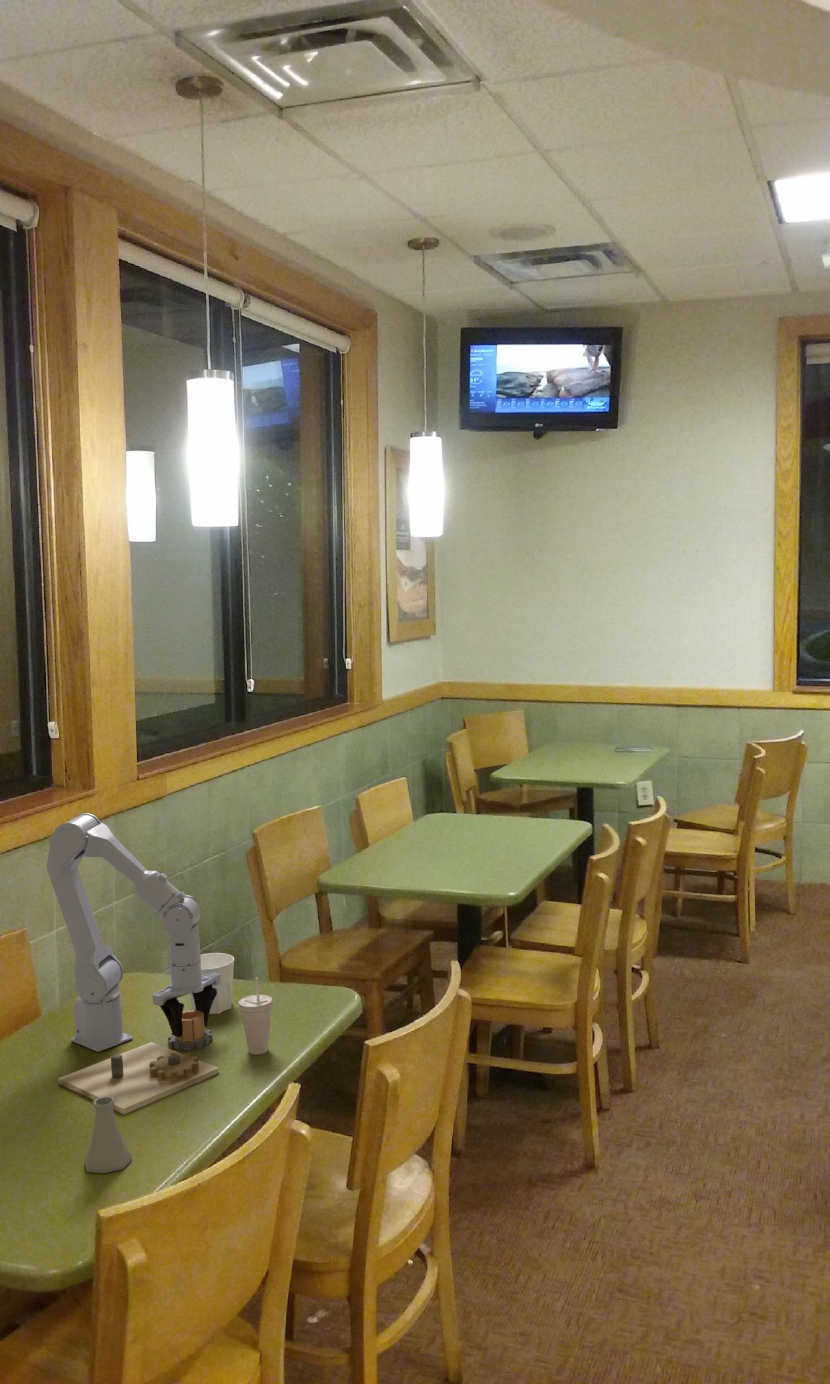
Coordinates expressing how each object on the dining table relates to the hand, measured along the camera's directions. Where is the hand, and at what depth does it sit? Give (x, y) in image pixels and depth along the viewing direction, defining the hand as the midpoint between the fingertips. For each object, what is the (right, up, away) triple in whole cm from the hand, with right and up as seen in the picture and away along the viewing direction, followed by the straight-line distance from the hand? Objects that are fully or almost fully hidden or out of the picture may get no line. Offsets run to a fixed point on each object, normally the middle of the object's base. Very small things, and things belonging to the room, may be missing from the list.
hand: (189, 1030), depth 227 cm
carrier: (-6, -4, -16) cm, 17 cm away
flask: (-4, -7, -46) cm, 46 cm away
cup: (+1, -1, +18) cm, 18 cm away
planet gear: (0, -2, 0) cm, 2 cm away
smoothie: (+14, -2, -5) cm, 15 cm away
